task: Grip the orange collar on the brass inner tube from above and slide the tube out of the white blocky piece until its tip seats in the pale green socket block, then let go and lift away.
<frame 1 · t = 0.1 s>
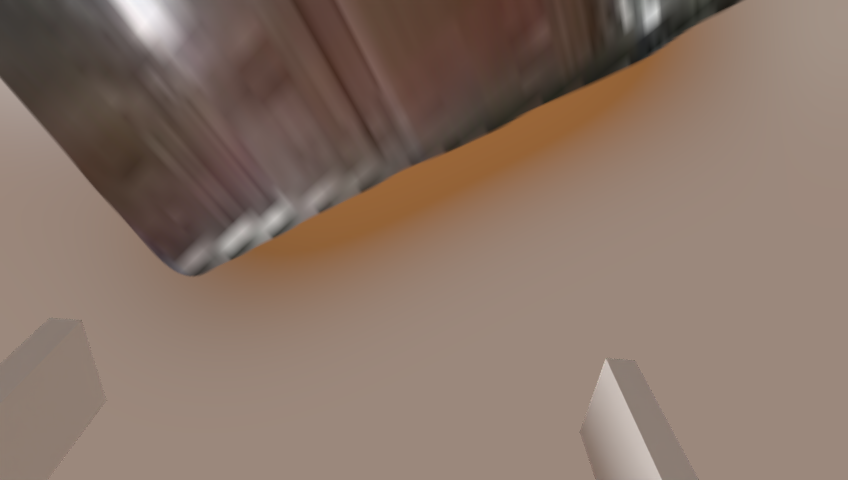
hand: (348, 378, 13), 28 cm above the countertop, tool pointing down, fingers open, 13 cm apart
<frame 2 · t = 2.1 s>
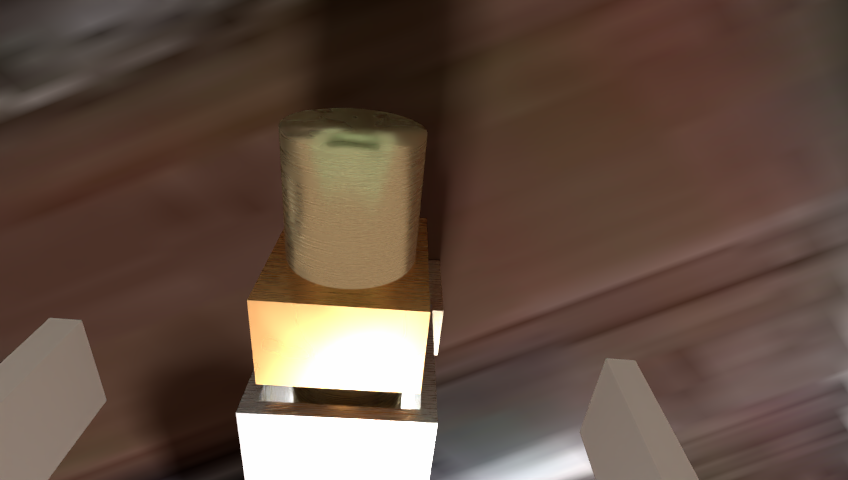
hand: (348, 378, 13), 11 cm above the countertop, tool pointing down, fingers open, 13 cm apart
inner tube: (348, 390, 18), point 7 cm above the countertop, slide at 0.0 cm
white blocky piece: (364, 332, 26), on the countertop
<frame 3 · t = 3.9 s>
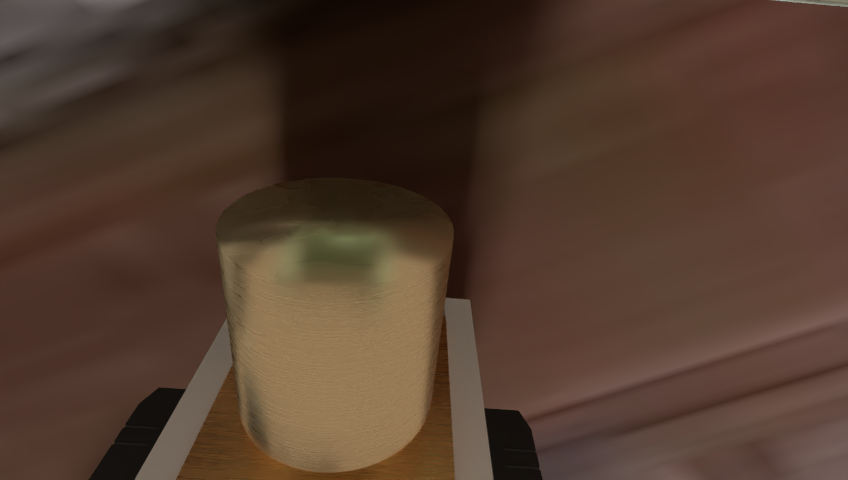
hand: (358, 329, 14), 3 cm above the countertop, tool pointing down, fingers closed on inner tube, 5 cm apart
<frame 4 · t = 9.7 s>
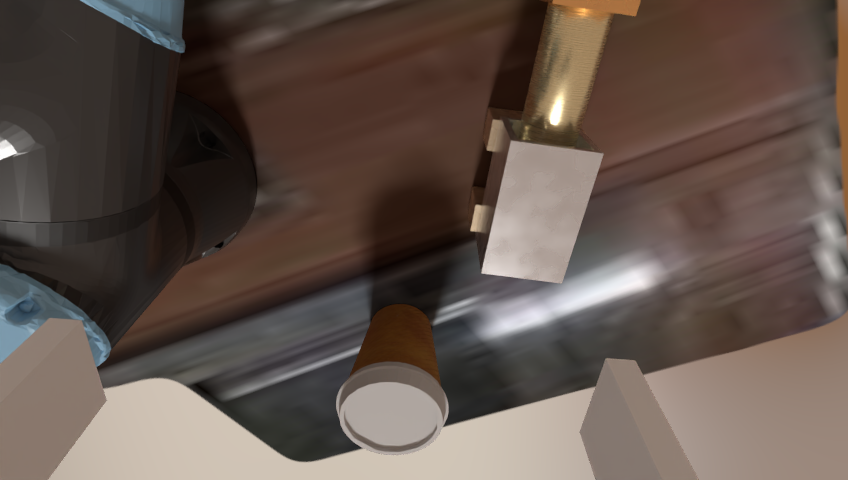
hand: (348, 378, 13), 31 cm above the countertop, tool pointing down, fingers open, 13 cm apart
inner tube: (567, 58, 31), point 7 cm above the countertop, slide at 7.0 cm
disposable coffee cup: (400, 327, 51), on the countertop
white blocky piece: (517, 166, 42), on the countertop
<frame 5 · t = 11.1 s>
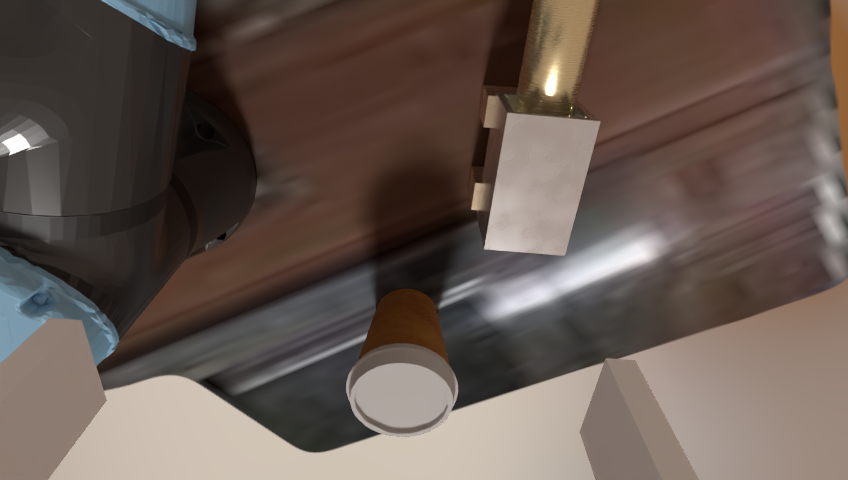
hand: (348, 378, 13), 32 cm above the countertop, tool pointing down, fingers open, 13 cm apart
inner tube: (560, 27, 31), point 7 cm above the countertop, slide at 7.0 cm
disposable coffee cup: (406, 311, 51), on the countertop
white blocky piece: (515, 144, 42), on the countertop
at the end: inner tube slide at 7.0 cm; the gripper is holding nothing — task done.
